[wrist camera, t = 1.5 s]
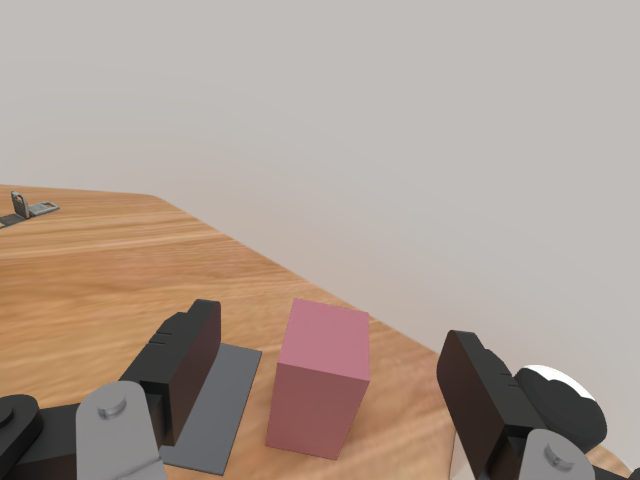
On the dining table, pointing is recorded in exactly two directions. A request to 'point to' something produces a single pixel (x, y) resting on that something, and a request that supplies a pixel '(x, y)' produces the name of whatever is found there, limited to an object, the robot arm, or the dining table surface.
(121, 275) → the dining table surface
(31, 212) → the strap clip
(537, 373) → the medicine bottle
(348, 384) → the tall pink pillar
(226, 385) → the mat
